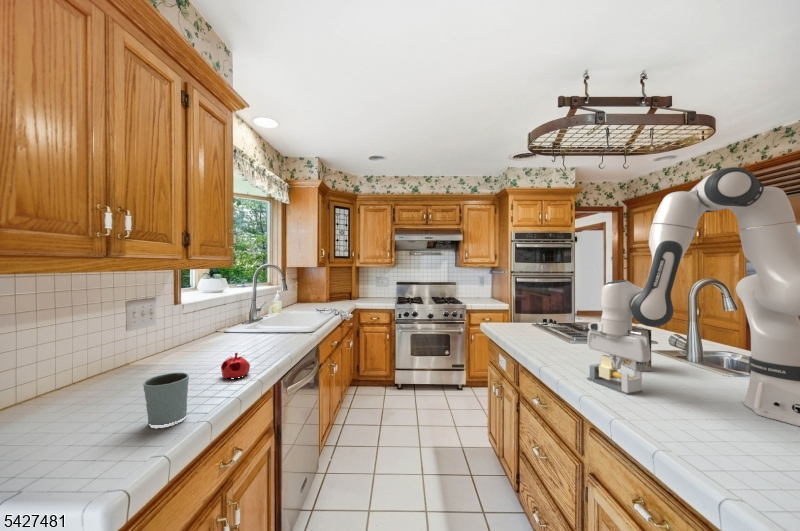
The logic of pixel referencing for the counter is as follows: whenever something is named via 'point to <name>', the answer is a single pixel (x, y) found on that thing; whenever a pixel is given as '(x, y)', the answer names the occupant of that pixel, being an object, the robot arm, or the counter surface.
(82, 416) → the counter surface
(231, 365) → the pomegranate
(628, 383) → the linear slide clamp
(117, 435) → the counter surface
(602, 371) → the notched stepped block
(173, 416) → the grey plant pot
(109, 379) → the counter surface
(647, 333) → the coffee box
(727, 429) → the counter surface
